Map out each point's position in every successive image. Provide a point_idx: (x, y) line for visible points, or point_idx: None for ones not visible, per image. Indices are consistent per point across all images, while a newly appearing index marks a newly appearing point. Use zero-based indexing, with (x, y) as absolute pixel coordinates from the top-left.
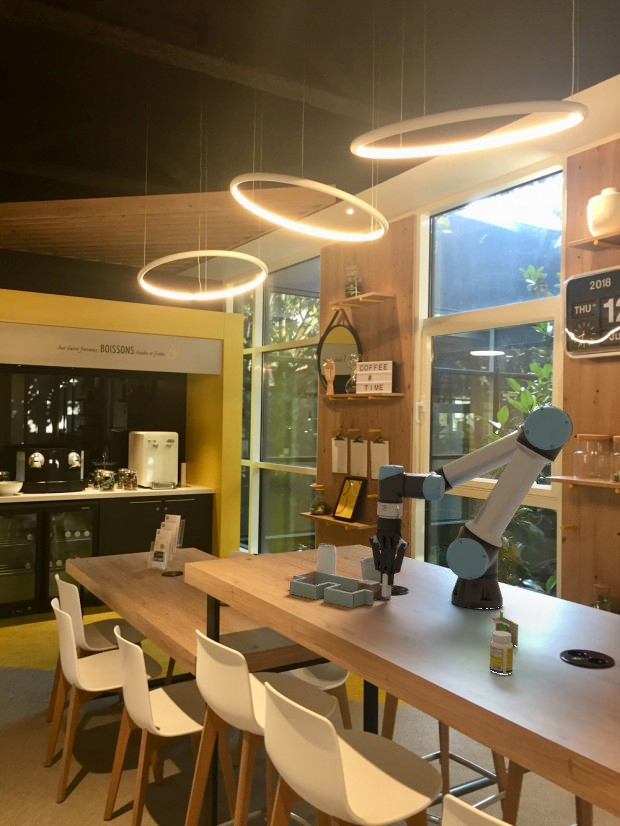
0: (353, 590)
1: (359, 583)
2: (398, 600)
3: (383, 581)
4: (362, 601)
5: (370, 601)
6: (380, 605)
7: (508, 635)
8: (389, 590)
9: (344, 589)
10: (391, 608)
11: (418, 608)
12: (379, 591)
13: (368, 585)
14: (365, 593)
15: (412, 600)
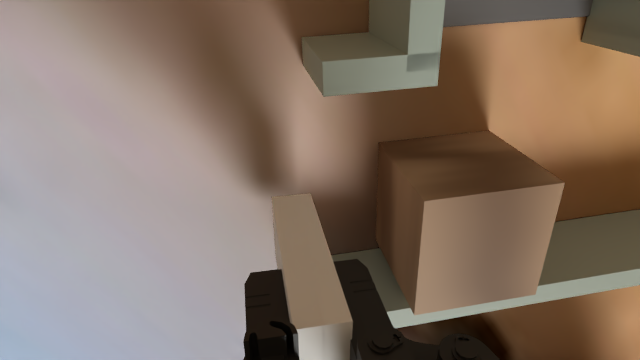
0: (570, 226)
1: (538, 179)
2: None
3: (323, 268)
4: (376, 6)
5: (316, 42)
6: (259, 101)
7: None
8: (277, 260)
9: (626, 214)
10: (144, 96)
11: (32, 248)
12: (390, 263)
13: (449, 192)
14: (386, 49)
15: (209, 345)
